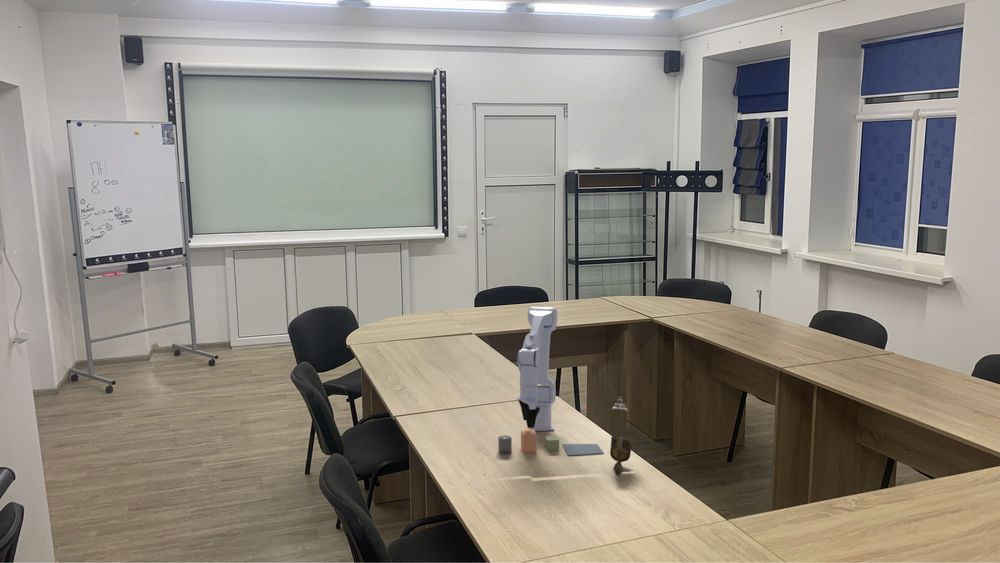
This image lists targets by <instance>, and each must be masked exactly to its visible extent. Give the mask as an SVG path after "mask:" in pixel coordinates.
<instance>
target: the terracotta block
mask: <svg viewBox="0 0 1000 563" xmlns="http://www.w3.org/2000/svg"><path fill="white" fill-rule="evenodd" d="M520 448H521V451H522V453H523V454H533V453H534V454H535V453H537V433H536V431H534V430H532V429H522V430H520Z"/></svg>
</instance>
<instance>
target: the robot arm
mask: <svg viewBox="0 0 1000 563" xmlns="http://www.w3.org/2000/svg"><path fill="white" fill-rule="evenodd" d="M527 322H528V323H529V324H528V325H529V326H530V332H529V333H527V334H526V335H525V338H524V341H523V343H522V344H523V345H522V348H521V349H519V350H518V352H517V365H518V372H519V396H516V401H518V403H519V406H520V409H521V414H522V419H523V421H525V422H526V426H527V428H528V429H530V430H534V431H535V432H541V431H542V432H543V431H555V428H554V425H553V424H552V405H553V404H554V403H555V402H556V397H557V396H556V395H557V394H556V393H557V391H556V383H555V381H554V379H552V378H550V377H549V369H550V366H549V365H550V346H551V335H552V332H554V331H555V330H557V323H558V310H557V308H556V307H555V306H553V307H549V306H532V305H530V307H528V310H527Z"/></svg>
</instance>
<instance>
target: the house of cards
mask: <svg viewBox="0 0 1000 563" xmlns="http://www.w3.org/2000/svg"><path fill="white" fill-rule="evenodd" d="M617 401H618V402H619V401H621V403H614V406H612V410H616V411H618V410H621V412H623V411H628V408H627V406H626V405H625V404H623V403H622V402H623V398H622V397H621V396H619V397H618V399H617Z"/></svg>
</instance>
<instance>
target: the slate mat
mask: <svg viewBox="0 0 1000 563" xmlns="http://www.w3.org/2000/svg"><path fill="white" fill-rule="evenodd" d="M561 446H562V447H563V450H564V451H565V453H566V455H567V456H568V457H574V456H577V457H578V456H592V455H593V456H594V455H604V454H605V453H604V451H603V449H601V447H600V446H599V444H598V443H561Z"/></svg>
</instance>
